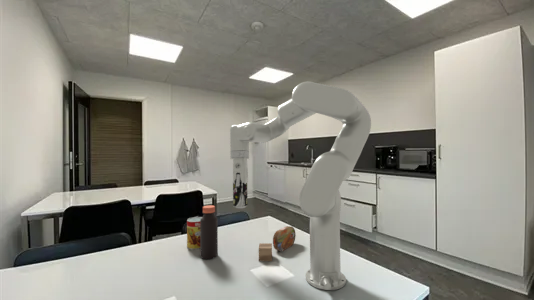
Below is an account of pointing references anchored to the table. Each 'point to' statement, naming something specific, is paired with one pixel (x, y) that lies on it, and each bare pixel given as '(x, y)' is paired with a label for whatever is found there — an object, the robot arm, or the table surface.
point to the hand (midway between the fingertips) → (240, 200)
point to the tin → (284, 238)
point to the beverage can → (240, 197)
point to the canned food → (193, 233)
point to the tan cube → (265, 252)
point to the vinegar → (209, 233)
